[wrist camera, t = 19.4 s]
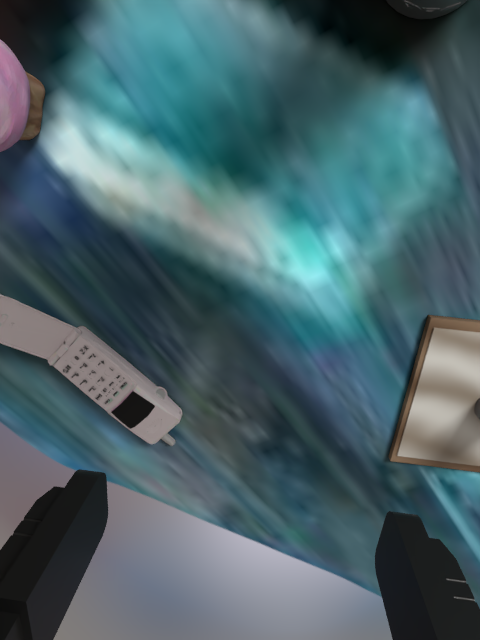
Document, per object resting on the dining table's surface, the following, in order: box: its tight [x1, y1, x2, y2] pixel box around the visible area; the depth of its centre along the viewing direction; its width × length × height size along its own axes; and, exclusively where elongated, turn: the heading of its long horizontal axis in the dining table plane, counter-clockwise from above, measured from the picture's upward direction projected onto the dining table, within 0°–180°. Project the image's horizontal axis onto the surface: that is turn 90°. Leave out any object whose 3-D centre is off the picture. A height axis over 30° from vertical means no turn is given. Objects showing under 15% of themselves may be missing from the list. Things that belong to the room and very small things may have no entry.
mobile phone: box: [0, 294, 182, 446], centre depth 42 cm, size 6×6×25 cm
